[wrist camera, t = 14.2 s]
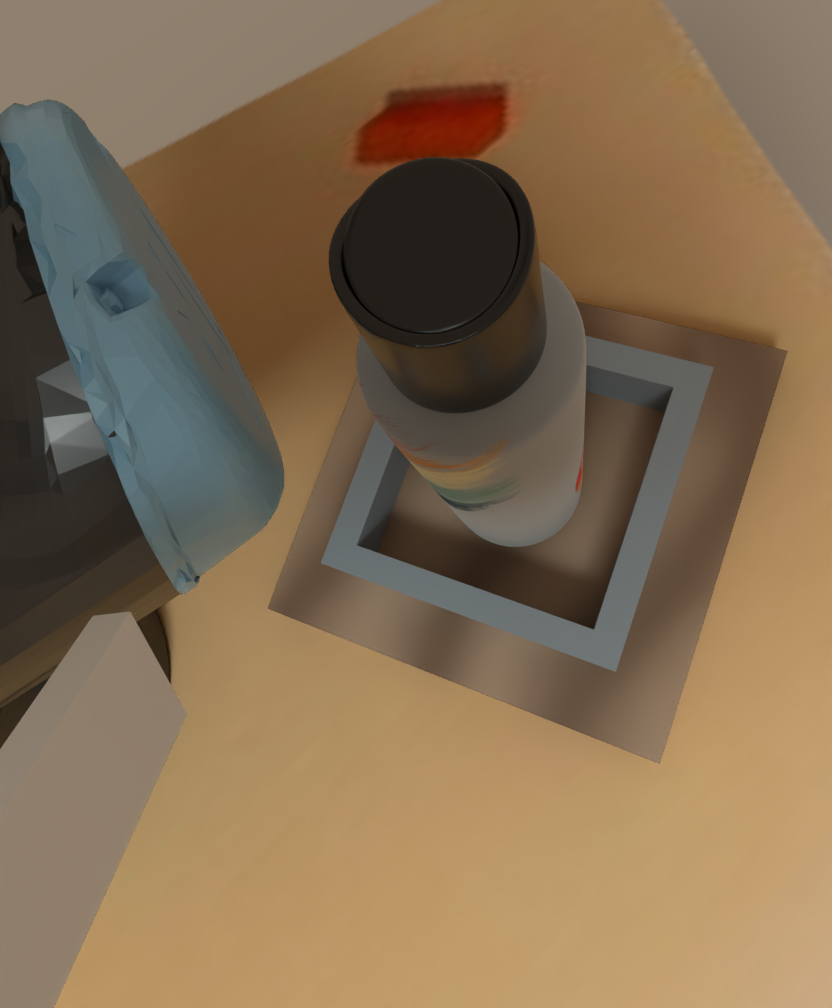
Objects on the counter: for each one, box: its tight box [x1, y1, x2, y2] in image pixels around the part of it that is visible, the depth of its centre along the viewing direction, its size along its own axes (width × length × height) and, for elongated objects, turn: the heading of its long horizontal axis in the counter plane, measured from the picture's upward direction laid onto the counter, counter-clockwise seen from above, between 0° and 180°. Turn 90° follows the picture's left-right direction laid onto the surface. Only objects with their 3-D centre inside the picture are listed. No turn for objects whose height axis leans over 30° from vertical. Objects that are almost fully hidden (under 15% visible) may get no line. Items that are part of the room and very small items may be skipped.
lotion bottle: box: [329, 157, 586, 547], centre depth 22 cm, size 6×6×20 cm
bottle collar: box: [321, 336, 714, 672], centre depth 30 cm, size 12×12×3 cm
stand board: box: [268, 301, 787, 764], centre depth 32 cm, size 18×18×2 cm
